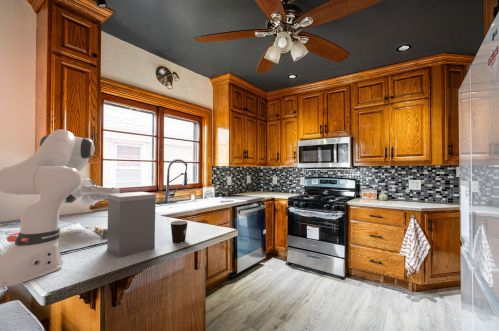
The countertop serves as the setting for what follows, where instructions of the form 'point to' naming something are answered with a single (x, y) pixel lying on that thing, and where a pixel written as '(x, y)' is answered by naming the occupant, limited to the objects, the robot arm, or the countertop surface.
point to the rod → (101, 230)
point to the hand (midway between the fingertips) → (104, 187)
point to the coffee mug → (178, 231)
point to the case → (131, 223)
